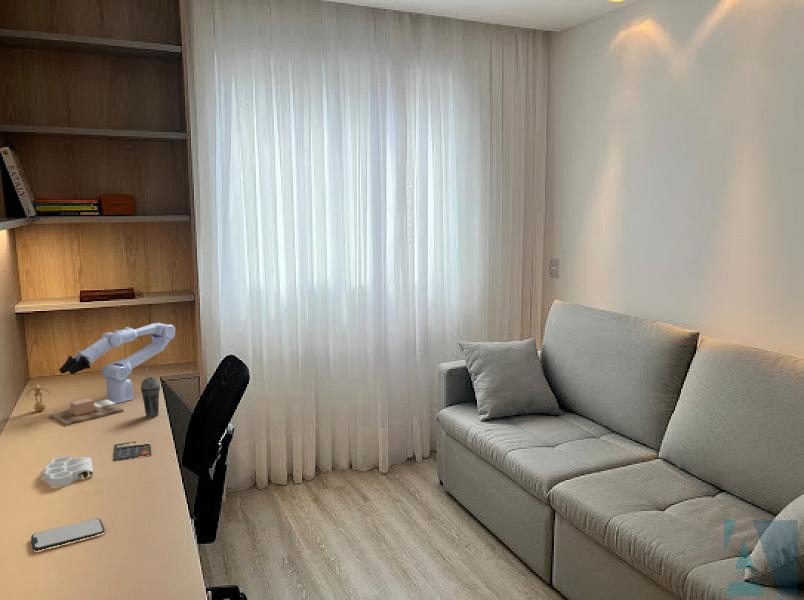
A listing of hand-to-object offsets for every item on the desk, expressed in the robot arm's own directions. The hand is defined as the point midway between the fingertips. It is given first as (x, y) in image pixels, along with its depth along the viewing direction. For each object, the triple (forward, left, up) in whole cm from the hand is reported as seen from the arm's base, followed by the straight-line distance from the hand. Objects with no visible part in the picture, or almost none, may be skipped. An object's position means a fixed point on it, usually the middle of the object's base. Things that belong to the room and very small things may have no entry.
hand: (65, 372), depth 251 cm
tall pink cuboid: (-3, +5, -16) cm, 17 cm away
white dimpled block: (+24, +59, -18) cm, 67 cm away
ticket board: (-5, +5, -18) cm, 19 cm away
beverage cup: (-21, +27, -18) cm, 39 cm away
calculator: (+1, +56, -18) cm, 59 cm away
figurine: (+6, -13, -18) cm, 23 cm away
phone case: (+39, +98, -18) cm, 107 cm away
